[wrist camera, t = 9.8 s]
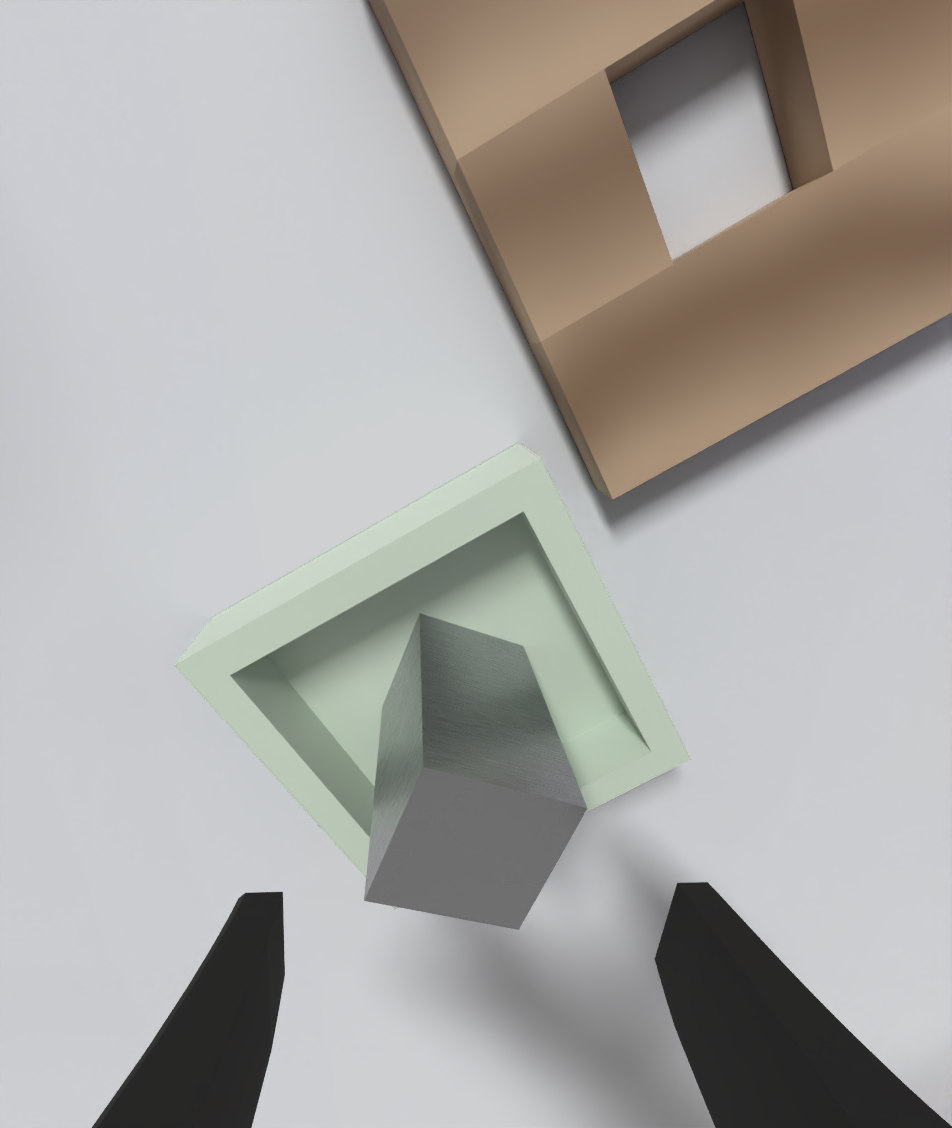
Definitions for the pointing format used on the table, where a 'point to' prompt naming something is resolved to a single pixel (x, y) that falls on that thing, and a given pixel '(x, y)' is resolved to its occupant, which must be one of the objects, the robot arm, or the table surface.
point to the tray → (384, 625)
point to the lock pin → (467, 781)
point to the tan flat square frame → (722, 263)
